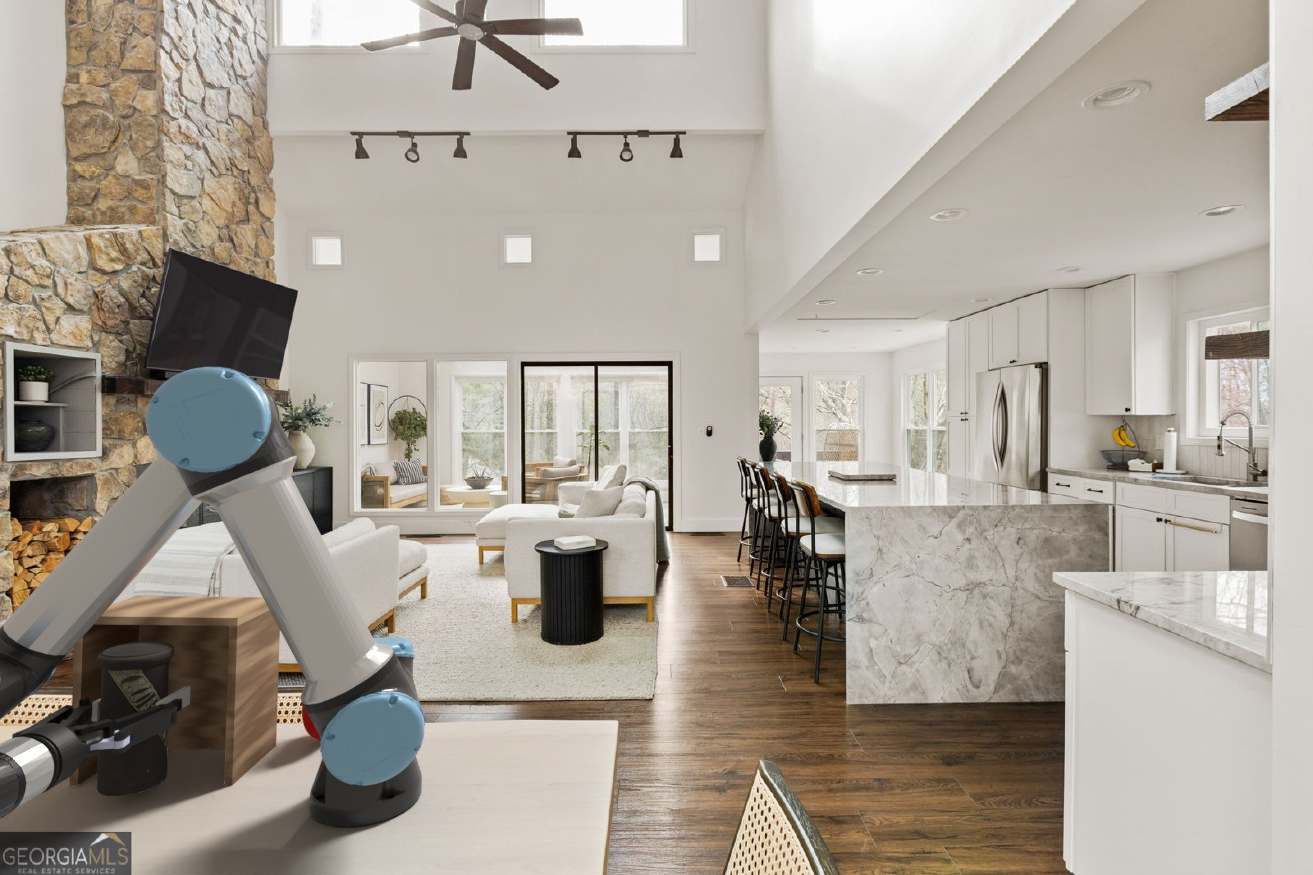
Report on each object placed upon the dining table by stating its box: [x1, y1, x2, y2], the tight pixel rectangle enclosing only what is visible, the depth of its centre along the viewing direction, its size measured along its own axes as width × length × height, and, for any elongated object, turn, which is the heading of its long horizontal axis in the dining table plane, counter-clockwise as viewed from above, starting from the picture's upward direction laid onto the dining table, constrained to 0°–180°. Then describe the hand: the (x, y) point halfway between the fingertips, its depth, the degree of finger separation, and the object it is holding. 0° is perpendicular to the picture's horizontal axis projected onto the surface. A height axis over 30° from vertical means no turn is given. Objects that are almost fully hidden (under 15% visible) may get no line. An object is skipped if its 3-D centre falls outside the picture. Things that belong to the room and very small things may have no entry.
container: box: [95, 641, 174, 798], centre depth 98 cm, size 9×9×20 cm
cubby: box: [68, 595, 281, 787], centre depth 108 cm, size 23×13×25 cm, turn 94°
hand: (157, 694), depth 102 cm, fingers closed on container, 8 cm apart
